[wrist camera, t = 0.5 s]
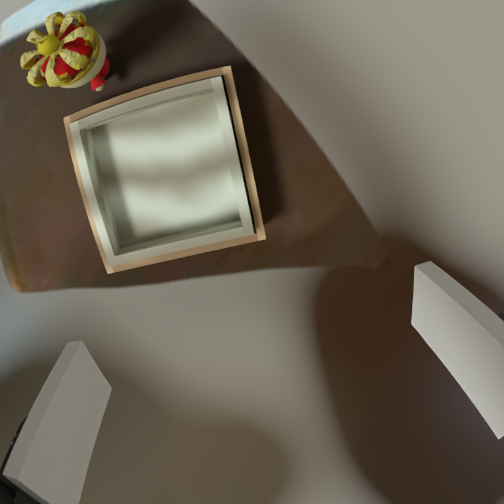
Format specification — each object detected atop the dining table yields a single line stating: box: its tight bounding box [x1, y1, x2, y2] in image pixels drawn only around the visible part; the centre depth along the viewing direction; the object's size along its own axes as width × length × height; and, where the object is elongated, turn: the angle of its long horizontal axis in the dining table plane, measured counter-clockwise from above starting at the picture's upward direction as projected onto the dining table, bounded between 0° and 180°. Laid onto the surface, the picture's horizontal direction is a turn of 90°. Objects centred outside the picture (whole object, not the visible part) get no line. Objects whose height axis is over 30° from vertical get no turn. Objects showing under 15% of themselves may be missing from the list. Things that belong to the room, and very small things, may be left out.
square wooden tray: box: [64, 66, 266, 274], centre depth 30 cm, size 18×18×5 cm
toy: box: [21, 11, 110, 91], centre depth 21 cm, size 7×7×15 cm
